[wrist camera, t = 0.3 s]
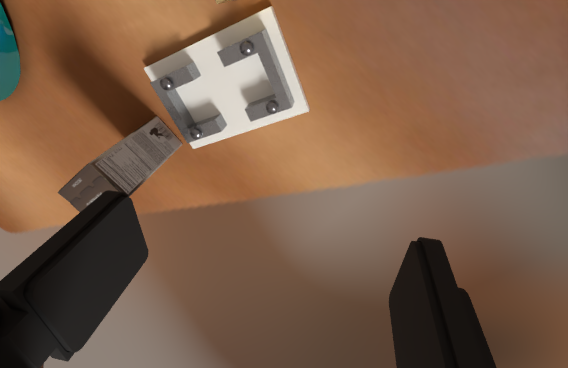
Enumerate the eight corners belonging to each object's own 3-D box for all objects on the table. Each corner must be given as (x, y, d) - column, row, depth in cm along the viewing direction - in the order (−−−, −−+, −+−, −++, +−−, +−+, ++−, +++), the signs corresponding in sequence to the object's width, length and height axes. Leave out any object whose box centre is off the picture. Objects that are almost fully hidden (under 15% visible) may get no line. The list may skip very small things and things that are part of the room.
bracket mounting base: (159, 77, 44) (147, 83, 41) (266, 28, 37) (260, 32, 35) (194, 136, 49) (185, 144, 46) (294, 101, 42) (291, 109, 40)
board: (147, 66, 44) (143, 68, 43) (272, 5, 37) (270, 6, 36) (195, 146, 51) (193, 149, 50) (310, 108, 43) (309, 111, 43)
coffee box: (154, 166, 55) (93, 224, 42) (127, 140, 53) (54, 193, 40) (184, 144, 51) (128, 200, 38) (156, 114, 49) (86, 163, 36)
